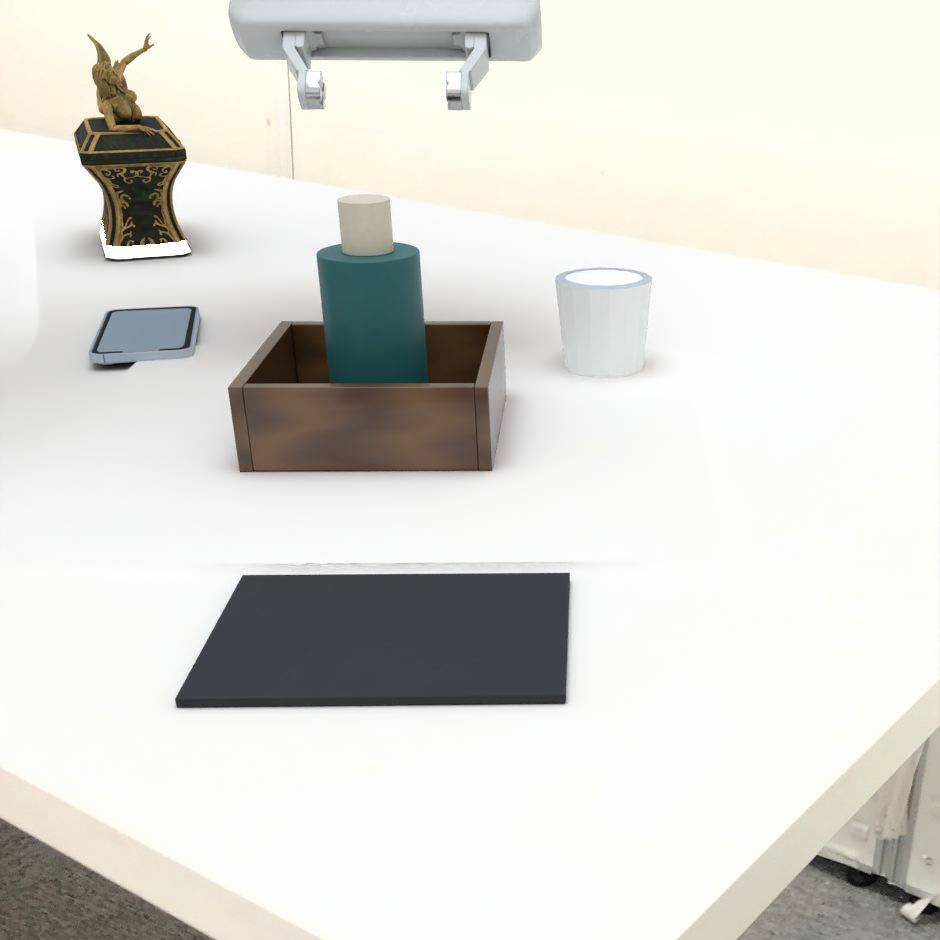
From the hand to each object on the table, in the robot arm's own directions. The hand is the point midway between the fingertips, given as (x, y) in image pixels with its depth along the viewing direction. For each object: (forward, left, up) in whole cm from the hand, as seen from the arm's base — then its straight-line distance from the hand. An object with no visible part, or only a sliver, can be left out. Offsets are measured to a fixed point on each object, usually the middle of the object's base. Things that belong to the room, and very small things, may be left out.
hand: (384, 104), depth 86 cm
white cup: (+14, +2, -19) cm, 24 cm away
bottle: (0, -12, -18) cm, 21 cm away
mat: (+4, -39, -18) cm, 43 cm away
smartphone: (-21, +11, -19) cm, 30 cm away
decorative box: (-33, +49, -19) cm, 62 cm away
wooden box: (0, -12, -18) cm, 22 cm away
